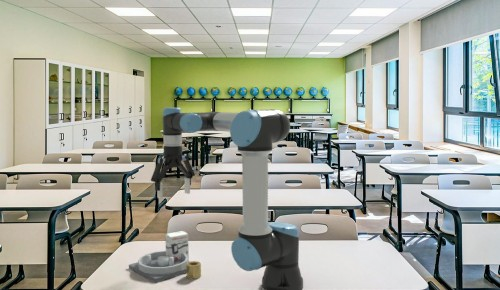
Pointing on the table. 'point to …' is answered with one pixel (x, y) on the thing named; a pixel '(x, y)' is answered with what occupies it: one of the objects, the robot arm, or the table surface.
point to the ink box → (177, 244)
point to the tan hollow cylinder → (193, 269)
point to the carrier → (160, 266)
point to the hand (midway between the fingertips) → (174, 195)
